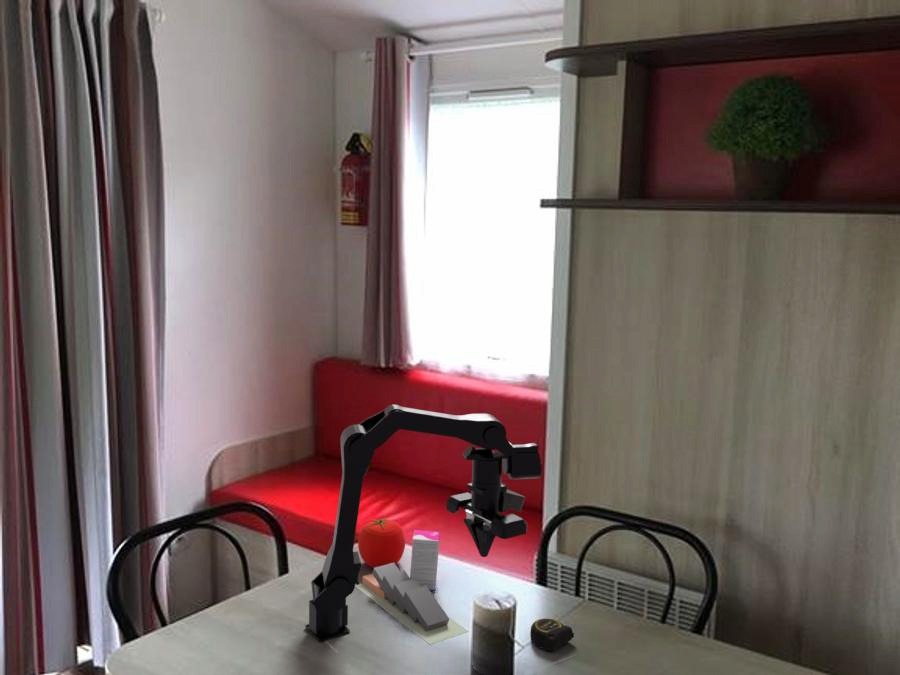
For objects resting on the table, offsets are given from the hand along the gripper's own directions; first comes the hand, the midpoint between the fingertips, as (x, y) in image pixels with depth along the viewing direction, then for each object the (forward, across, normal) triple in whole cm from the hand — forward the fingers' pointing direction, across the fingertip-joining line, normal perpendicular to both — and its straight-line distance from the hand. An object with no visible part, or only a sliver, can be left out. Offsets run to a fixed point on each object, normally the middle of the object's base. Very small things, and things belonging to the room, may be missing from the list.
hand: (484, 556), depth 158 cm
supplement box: (+13, +18, +2) cm, 22 cm away
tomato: (+13, +32, +4) cm, 35 cm away
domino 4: (+12, +5, +10) cm, 16 cm away
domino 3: (+12, +9, +10) cm, 18 cm away
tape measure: (+13, -15, -5) cm, 21 cm away
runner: (+13, +12, +10) cm, 20 cm away
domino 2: (+12, +13, +10) cm, 21 cm away
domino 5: (+12, +1, +10) cm, 16 cm away
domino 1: (+12, +17, +10) cm, 23 cm away
